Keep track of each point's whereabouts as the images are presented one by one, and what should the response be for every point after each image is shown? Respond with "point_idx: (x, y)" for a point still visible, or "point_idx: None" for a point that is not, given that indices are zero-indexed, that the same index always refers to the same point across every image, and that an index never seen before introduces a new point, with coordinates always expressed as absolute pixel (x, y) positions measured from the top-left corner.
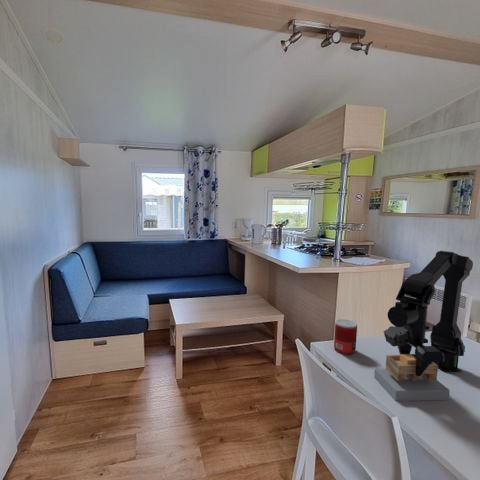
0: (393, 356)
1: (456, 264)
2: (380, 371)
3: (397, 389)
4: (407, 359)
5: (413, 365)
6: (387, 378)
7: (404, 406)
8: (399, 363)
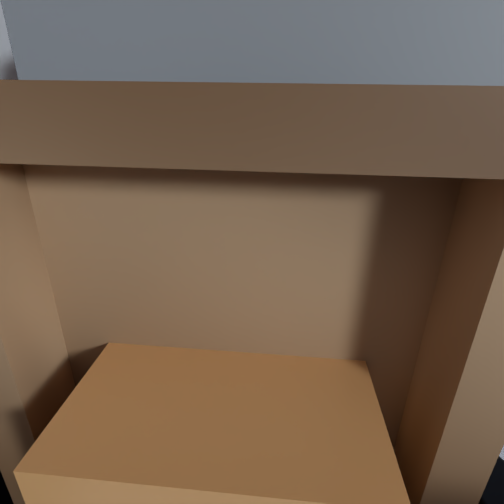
0: (478, 294)
1: None
2: (453, 47)
3: (34, 38)
4: (59, 491)
5: (10, 447)
6: (272, 51)
7: (9, 68)
8: (228, 276)
